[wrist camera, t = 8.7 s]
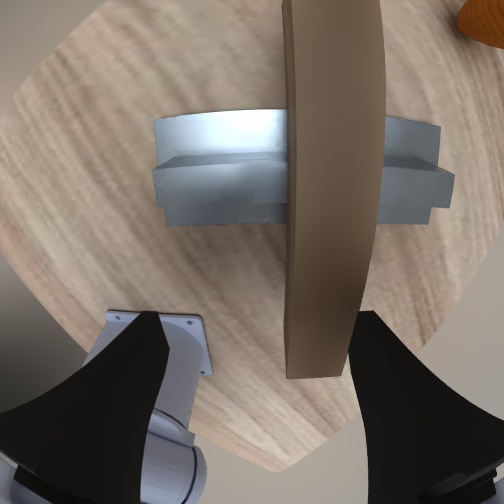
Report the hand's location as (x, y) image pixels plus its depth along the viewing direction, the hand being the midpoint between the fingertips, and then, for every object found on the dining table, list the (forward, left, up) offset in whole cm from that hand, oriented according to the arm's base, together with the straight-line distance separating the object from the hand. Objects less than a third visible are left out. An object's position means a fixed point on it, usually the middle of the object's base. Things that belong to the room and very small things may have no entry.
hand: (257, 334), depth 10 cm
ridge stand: (+3, +4, -10) cm, 11 cm away
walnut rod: (+3, +4, -6) cm, 7 cm away
